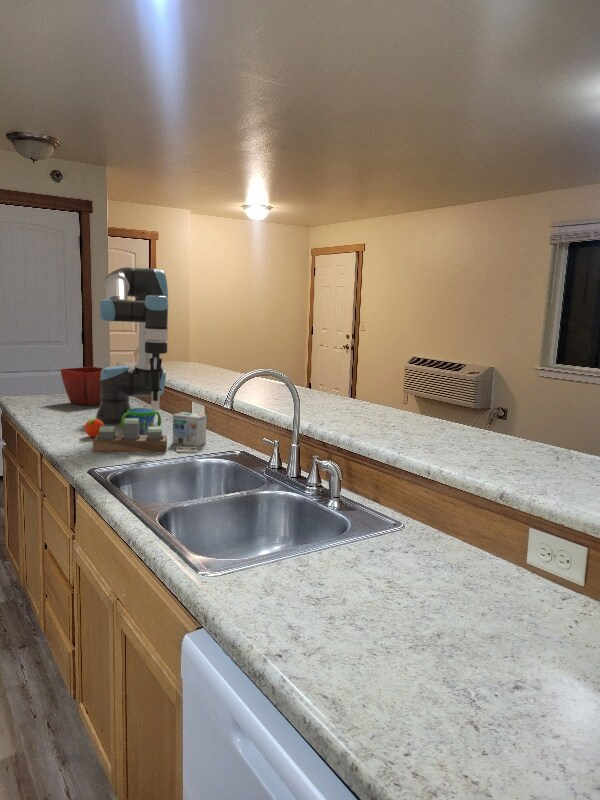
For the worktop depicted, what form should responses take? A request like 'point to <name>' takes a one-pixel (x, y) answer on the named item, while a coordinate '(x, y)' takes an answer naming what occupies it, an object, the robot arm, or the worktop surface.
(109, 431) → the button near
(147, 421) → the snack cup
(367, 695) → the worktop surface
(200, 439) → the light bulb box
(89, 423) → the tomato
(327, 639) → the worktop surface
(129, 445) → the button board
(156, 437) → the button far
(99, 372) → the plant pot
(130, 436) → the button mid
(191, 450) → the card
